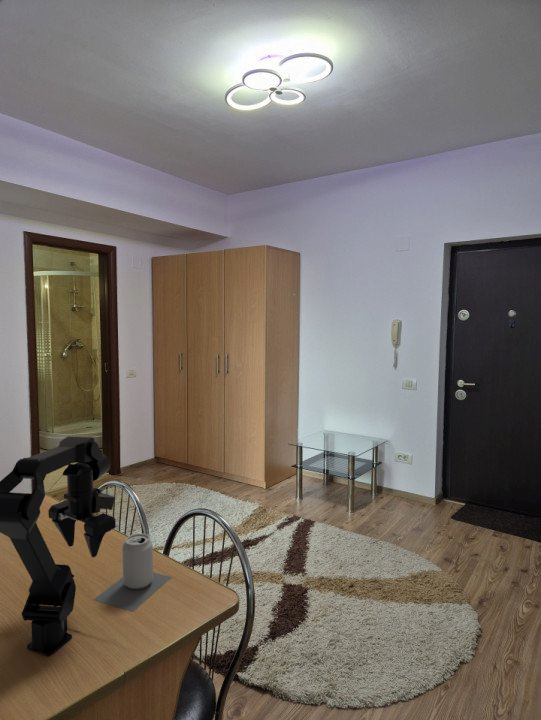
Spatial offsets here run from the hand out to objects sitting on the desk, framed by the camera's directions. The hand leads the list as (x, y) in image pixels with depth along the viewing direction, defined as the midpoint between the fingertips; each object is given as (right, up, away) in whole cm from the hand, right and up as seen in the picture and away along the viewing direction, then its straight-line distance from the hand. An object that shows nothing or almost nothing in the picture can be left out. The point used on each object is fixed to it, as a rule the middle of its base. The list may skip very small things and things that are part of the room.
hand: (82, 551), depth 114 cm
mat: (+11, -13, +6) cm, 18 cm away
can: (+11, -12, +8) cm, 18 cm away
